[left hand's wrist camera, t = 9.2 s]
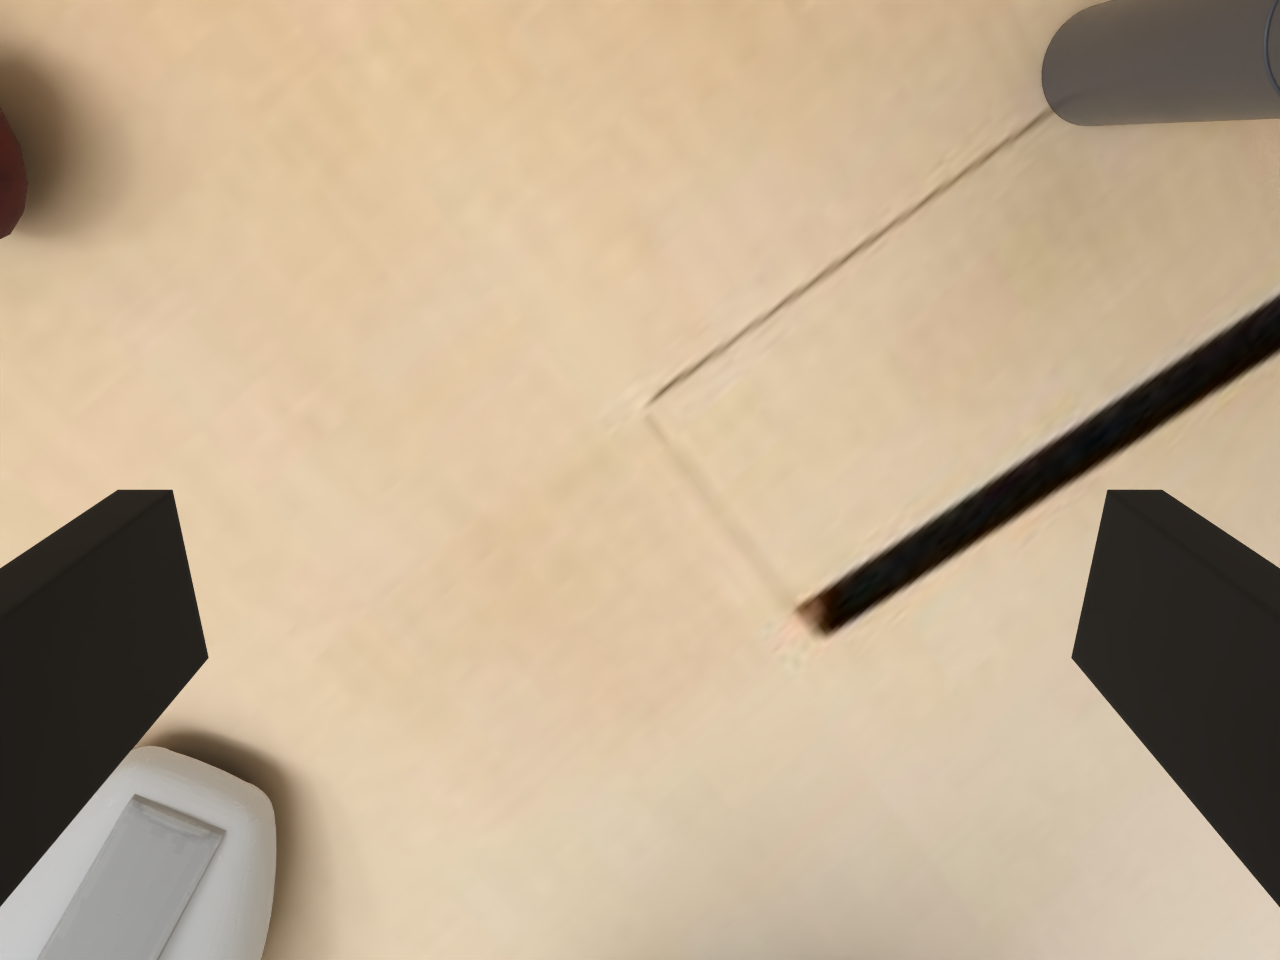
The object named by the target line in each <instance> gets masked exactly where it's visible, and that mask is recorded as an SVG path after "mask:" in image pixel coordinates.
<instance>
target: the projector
mask: <svg viewBox="0 0 1280 960" xmlns="http://www.w3.org/2000/svg"><path fill="white" fill-rule="evenodd" d="M275 873H276V825H275V815H274V810H273V806H272V803H271V801H270V799H269V798H268V797H267V795H266V794H265V793H264V792H263V791H262V790H260V789H259V788H258V787H256V786H254V785H253V784H250V783H247V782H245V781H243V780H241V779H239V778H237V777H235V776H233V775H231V774H229V773H227V772H225V771H223V770H221V769H219V768H216V767H214V766H212V765H209V764H207V763H204V762H202V761H199V760H197V759H194V758H191V757H189V756H186V755H183V754H179V753H176V752H173V751H171V750H168V749H167V748H163V747H158V746H142V747H138V748H135V749H133V750H131V751H130V752H129V754H128V755H127V756H126V757H125V758H124V760H123V761H122V762H121V763H120V764H119V766H118V767H117V768H116V769H115V770H114V772H113V773H112V774H111V775H110V776H109V777H108V779H107V780H106V781H105V782H104V783H103V785H102V786H101V787H100V788H99V789H98V791H97V792H96V793H95V794H94V795H93V797H92V798H91V799H90V800H89V801H88V803H87V804H86V805H85V806H84V807H83V809H82V810H81V811H80V812H79V813H78V815H77V816H76V817H75V818H74V819H73V821H72V822H71V823H70V824H69V825H68V827H67V828H66V829H65V830H64V831H63V833H62V834H61V835H60V836H59V837H58V839H57V840H56V841H55V842H54V843H53V845H52V846H51V847H50V848H49V849H48V851H47V852H46V853H45V854H44V855H43V856H42V858H41V859H40V860H39V861H38V862H37V864H36V865H35V866H34V867H33V868H32V870H31V871H30V872H29V873H28V874H27V876H26V877H25V878H24V879H23V880H22V882H21V883H20V884H19V885H18V886H17V888H16V889H15V890H14V891H13V892H12V894H11V895H10V896H9V897H8V898H7V900H6V901H5V902H4V903H3V904H2V906H1V907H0V960H261V958H262V954H263V950H264V946H265V943H266V939H267V933H268V928H269V923H270V918H271V911H272V904H273V897H274V885H275Z"/></svg>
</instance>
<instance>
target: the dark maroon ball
mask: <svg viewBox="0 0 1280 960" xmlns="http://www.w3.org/2000/svg"><path fill="white" fill-rule="evenodd" d="M26 192H27V179H26V174H25V169H24V164H23V159H22V154H21V150H20V146H19V143H18V141H17V139H16V137H15V136H14V134H13V132H12V130H11V128H10V126H9V124H8V122H7V120H6V118H5V116H4V114H3V112H2V111H1V109H0V239H1V238H3V237H5V236H7V235H10V234H11V232H12V230H13V229H14V227H15V225H16V224H17V222H18V221H19V219H20V217H21V216H22V214H23V211H24V207H25V200H26Z"/></svg>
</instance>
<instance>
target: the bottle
mask: <svg viewBox="0 0 1280 960" xmlns="http://www.w3.org/2000/svg"><path fill="white" fill-rule="evenodd" d="M1042 86H1043V90H1044V94H1045V97H1046V99H1047V101H1048V103H1049V105H1050V107H1051V108H1052V109H1053V111H1054V112H1055V113H1056V114H1057V115H1058V116H1060V117H1061V118H1062V119H1064V120H1066V121H1068V122H1070V123H1073V124H1076V125H1082V126H1099V125H1124V124H1150V123H1175V122H1201V121H1226V120H1252V119H1277V118H1280V0H1111V1H1108V2H1105V3H1101V4H1098V5H1095V6H1092V7H1089V8H1086V9H1084V10H1082V11H1080V12H1079V13H1077V14H1075V15H1074V16H1073V17H1071V18H1070V19H1069V20H1068V21H1067V22H1066V23H1065V24H1064V25H1063V26H1062V27H1061V28H1060V29H1059V30H1058V32H1057V33H1056V34H1055V36H1054V37H1053V39H1052V41H1051V43H1050V45H1049V47H1048V49H1047V52H1046V54H1045V58H1044V62H1043V67H1042Z"/></svg>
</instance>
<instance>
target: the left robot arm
mask: <svg viewBox="0 0 1280 960" xmlns="http://www.w3.org/2000/svg"><path fill="white" fill-rule="evenodd" d="M207 659H208V653H207V648H206V644H205V639H204V634H203V630H202V625H201V620H200V616H199V611H198V606H197V602H196V597H195V592H194V588H193V583H192V578H191V574H190V569H189V564H188V560H187V555H186V550H185V546H184V541H183V536H182V532H181V527H180V522H179V518H178V513H177V508H176V504H175V499H174V494H173V490H117V491H115V492H114V493H112V494H111V495H109V496H108V497H106V498H105V499H103V500H102V501H100V502H99V503H97V504H96V505H94V506H93V507H91V508H90V509H89V510H87V511H86V512H84V513H83V514H81V515H80V516H78V517H77V518H75V519H74V520H72V521H71V522H69V523H68V524H66V525H65V526H63V527H62V528H60V529H59V530H57V531H56V532H54V533H53V534H51V535H50V536H48V537H47V538H45V539H44V540H42V541H41V542H39V543H38V544H36V545H35V546H33V547H32V548H30V549H29V550H27V551H26V552H24V553H23V554H21V555H20V556H18V557H17V558H15V559H14V560H12V561H11V562H9V563H8V564H6V565H5V566H3V567H2V568H0V907H1V906H2V904H3V903H4V902H5V901H6V900H7V898H8V897H9V896H10V895H11V894H12V892H13V891H14V890H15V889H16V888H17V886H18V885H19V884H20V883H21V882H22V880H23V879H24V878H25V877H26V876H27V874H28V873H29V872H30V871H31V870H32V868H33V867H34V866H35V865H36V864H37V862H38V861H39V860H40V859H41V858H42V856H43V855H44V854H45V853H46V852H47V851H48V849H49V848H50V847H51V846H52V845H53V843H54V842H55V841H56V840H57V839H58V837H59V836H60V835H61V834H62V833H63V831H64V830H65V829H66V828H67V827H68V825H69V824H70V823H71V822H72V821H73V819H74V818H75V817H76V816H77V815H78V813H79V812H80V811H81V810H82V809H83V807H84V806H85V805H86V804H87V803H88V801H89V800H90V799H91V798H92V797H93V795H94V794H95V793H96V792H97V791H98V789H99V788H100V787H101V786H102V785H103V783H104V782H105V781H106V780H107V779H108V777H109V776H110V775H111V774H112V773H113V772H114V770H115V769H116V768H117V767H118V766H119V764H120V763H121V762H122V761H123V760H124V758H125V757H126V756H127V755H128V754H129V752H130V751H131V750H132V749H133V748H134V746H135V745H136V744H137V743H138V742H139V740H140V739H141V738H142V737H143V736H144V734H145V733H146V732H147V731H148V730H149V728H150V727H151V726H152V725H153V724H154V722H155V721H156V720H157V719H158V718H159V716H160V715H161V714H162V713H163V712H164V710H165V709H166V708H167V707H168V706H169V704H170V703H171V702H172V701H173V700H174V698H175V697H176V696H177V695H178V694H179V692H180V691H181V690H182V689H183V688H184V687H185V685H186V684H187V683H188V682H189V681H190V679H191V678H192V677H193V676H194V675H195V673H196V672H197V671H198V670H199V669H200V667H201V666H202V665H203V664H204V663H205V661H206V660H207ZM1072 659H1073V660H1074V661H1075V663H1076V664H1077V665H1078V666H1079V667H1080V669H1081V670H1082V671H1083V672H1084V673H1085V675H1086V676H1087V677H1088V678H1089V679H1090V681H1091V682H1092V683H1093V684H1094V685H1095V687H1096V688H1097V689H1098V690H1099V691H1100V693H1101V694H1102V695H1103V696H1104V697H1105V698H1106V700H1107V701H1108V702H1109V703H1110V704H1111V706H1112V707H1113V708H1114V709H1115V710H1116V712H1117V713H1118V714H1119V715H1120V716H1121V718H1122V719H1123V720H1124V721H1125V722H1126V724H1127V725H1128V726H1129V727H1130V728H1131V730H1132V731H1133V732H1134V733H1135V734H1136V736H1137V737H1138V738H1139V739H1140V740H1141V742H1142V743H1143V744H1144V745H1145V746H1146V748H1147V749H1148V750H1149V751H1150V752H1151V754H1152V755H1153V756H1154V757H1155V758H1156V760H1157V761H1158V762H1159V763H1160V764H1161V766H1162V767H1163V768H1164V769H1165V770H1166V772H1167V773H1168V774H1169V775H1170V776H1171V777H1172V779H1173V780H1174V781H1175V782H1176V783H1177V785H1178V786H1179V787H1180V788H1181V789H1182V791H1183V792H1184V793H1185V794H1186V795H1187V797H1188V798H1189V799H1190V800H1191V801H1192V803H1193V804H1194V805H1195V806H1196V807H1197V809H1198V810H1199V811H1200V812H1201V813H1202V815H1203V816H1204V817H1205V818H1206V819H1207V821H1208V822H1209V823H1210V824H1211V825H1212V827H1213V828H1214V829H1215V830H1216V831H1217V833H1218V834H1219V835H1220V836H1221V837H1222V839H1223V840H1224V841H1225V842H1226V843H1227V845H1228V846H1229V847H1230V848H1231V849H1232V851H1233V852H1234V853H1235V854H1236V855H1237V857H1238V858H1239V859H1240V860H1241V861H1242V862H1243V864H1244V865H1245V866H1246V867H1247V868H1248V870H1249V871H1250V872H1251V873H1252V874H1253V876H1254V877H1255V878H1256V879H1257V880H1258V882H1259V883H1260V884H1261V885H1262V886H1263V888H1264V889H1265V890H1266V891H1267V892H1268V894H1269V895H1270V896H1271V897H1272V898H1273V900H1274V901H1275V902H1276V903H1277V904H1278V906H1279V907H1280V568H1278V567H1277V566H1275V565H1274V564H1272V563H1271V562H1269V561H1268V560H1266V559H1265V558H1263V557H1262V556H1260V555H1259V554H1257V553H1256V552H1254V551H1253V550H1251V549H1250V548H1248V547H1247V546H1245V545H1244V544H1242V543H1241V542H1239V541H1238V540H1236V539H1235V538H1233V537H1232V536H1230V535H1229V534H1227V533H1226V532H1224V531H1223V530H1221V529H1220V528H1218V527H1217V526H1215V525H1214V524H1212V523H1211V522H1209V521H1208V520H1206V519H1205V518H1203V517H1202V516H1200V515H1199V514H1197V513H1196V512H1194V511H1193V510H1191V509H1190V508H1188V507H1187V506H1186V505H1184V504H1183V503H1181V502H1180V501H1178V500H1177V499H1175V498H1174V497H1172V496H1171V495H1169V494H1168V493H1166V492H1165V491H1163V490H1107V494H1106V499H1105V504H1104V508H1103V513H1102V518H1101V522H1100V527H1099V532H1098V536H1097V541H1096V546H1095V550H1094V555H1093V560H1092V564H1091V569H1090V574H1089V578H1088V583H1087V588H1086V592H1085V597H1084V602H1083V606H1082V611H1081V616H1080V620H1079V625H1078V630H1077V634H1076V639H1075V644H1074V648H1073V653H1072Z"/></svg>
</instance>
